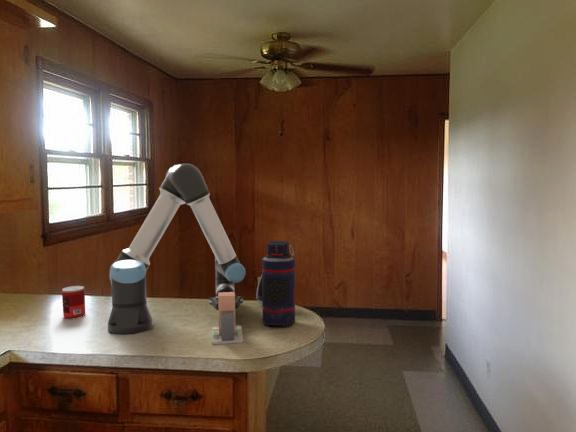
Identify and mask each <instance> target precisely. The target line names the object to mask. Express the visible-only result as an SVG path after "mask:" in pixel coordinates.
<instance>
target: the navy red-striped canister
mask: <svg viewBox="0 0 576 432" xmlns="http://www.w3.org/2000/svg"><path fill="white" fill-rule="evenodd" d="M291 251H292V252H291ZM294 254H295V252H294V248H293V246H292V244H290V243H289V241H283V240H281V241H280V240H271V241H269V242H267V253H266V254H265V256H264V257H263V258H261V268H262V269H261V275H262V306H261V307H262V309H261V310H262V322H263V323H264V326H265V327H270V325H271V326H279V327H281V326H283V328H284V329H285V328H289V327H290V325H292V324H293V323H294V322H296V270H295V267H296V258H294V257H293V256H294Z"/></svg>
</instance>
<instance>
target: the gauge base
mask: <svg viewBox="0 0 576 432" xmlns="http://www.w3.org/2000/svg"><path fill="white" fill-rule="evenodd" d="M235 326H236V327H242V325H239V324H238V325H235ZM211 328H212V331H211V333H212V335H211V336H212V337H211V344H212V345H221V344H224V345H225V344H236V343H237V344H238V343H244V335H243V330H242V329H243V328H242V329H237V330H236V334H234V341H222V340H221V335H219V331H213V328H219V326H212V327H211Z"/></svg>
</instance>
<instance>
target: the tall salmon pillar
mask: <svg viewBox="0 0 576 432" xmlns="http://www.w3.org/2000/svg"><path fill="white" fill-rule="evenodd" d="M235 295H236V292H235V293H234V292H221V293H218V309H219V310H218V327H219V328H213V331H219V335H221V311H233V313H234V334H236V330H237V329H243V328H242V326H241V327H236V326H237V325H236V310H235Z"/></svg>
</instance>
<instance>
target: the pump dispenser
mask: <svg viewBox="0 0 576 432" xmlns="http://www.w3.org/2000/svg"><path fill="white" fill-rule="evenodd" d="M255 299H256V300H257V302H258V304H259V306H261V307H262V274H261V276H260V278H259V281H258V283H257V288H256V297H255Z"/></svg>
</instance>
